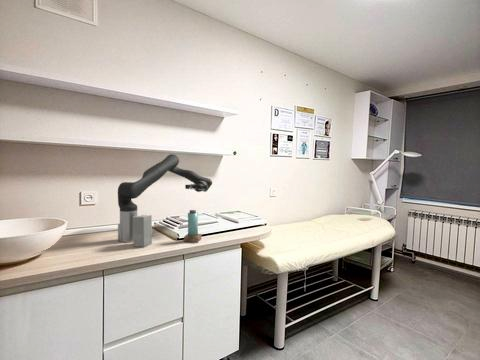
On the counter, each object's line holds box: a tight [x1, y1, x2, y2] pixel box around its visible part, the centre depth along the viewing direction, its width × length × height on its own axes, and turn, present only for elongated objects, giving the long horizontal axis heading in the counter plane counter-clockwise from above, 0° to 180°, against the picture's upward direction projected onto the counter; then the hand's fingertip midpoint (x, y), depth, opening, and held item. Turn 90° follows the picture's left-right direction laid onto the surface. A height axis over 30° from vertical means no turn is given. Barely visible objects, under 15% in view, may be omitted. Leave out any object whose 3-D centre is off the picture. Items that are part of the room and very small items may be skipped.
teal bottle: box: [187, 209, 199, 236], centre depth 146 cm, size 6×6×14 cm
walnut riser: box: [183, 233, 202, 244], centre depth 146 cm, size 8×8×3 cm
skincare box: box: [133, 214, 153, 248], centre depth 135 cm, size 8×7×16 cm
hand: (193, 187), depth 160 cm, fingers open, 8 cm apart
